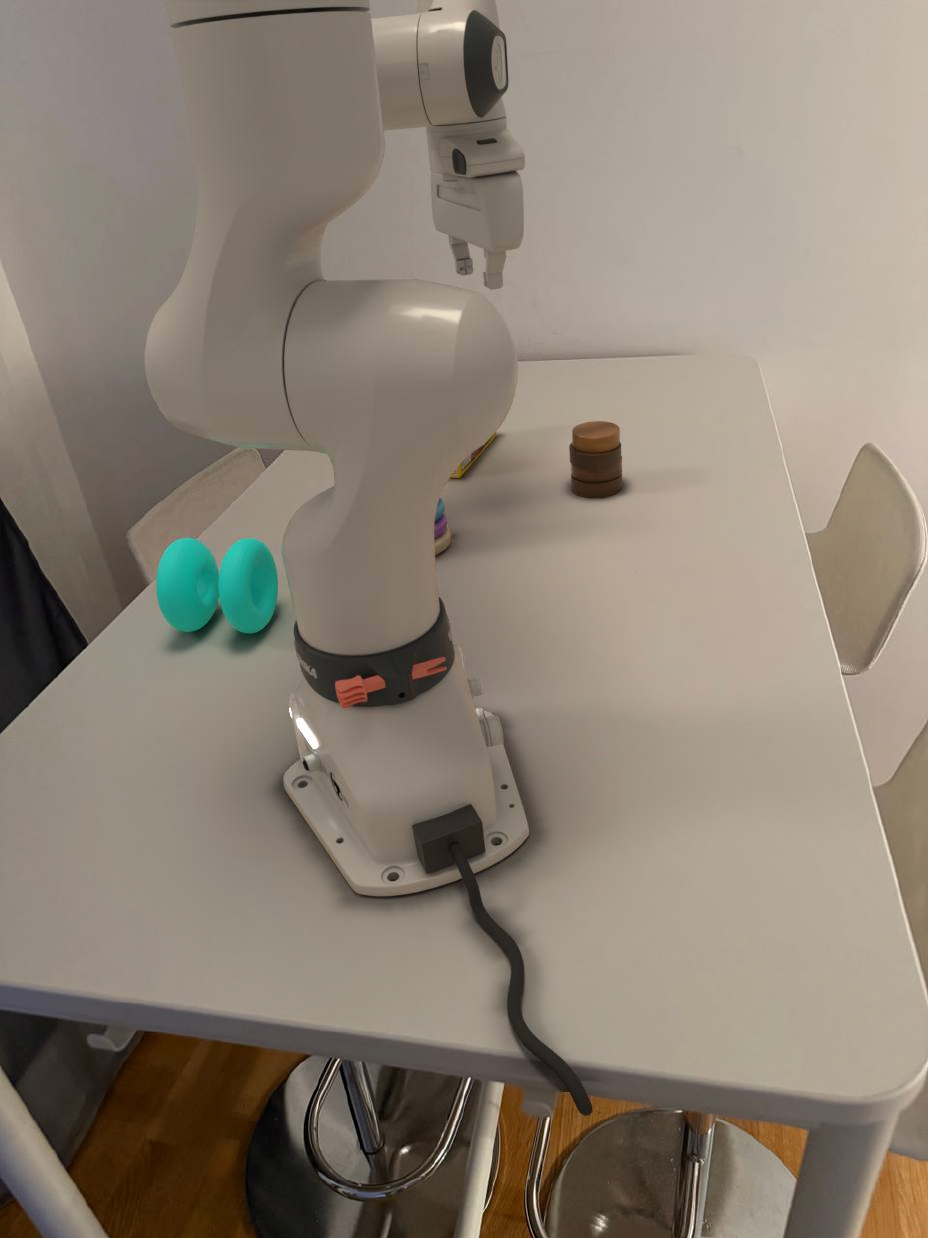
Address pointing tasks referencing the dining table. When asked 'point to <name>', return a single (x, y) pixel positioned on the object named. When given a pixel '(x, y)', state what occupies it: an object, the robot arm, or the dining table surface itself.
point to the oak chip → (596, 436)
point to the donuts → (217, 585)
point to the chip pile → (596, 472)
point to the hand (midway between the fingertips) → (478, 280)
